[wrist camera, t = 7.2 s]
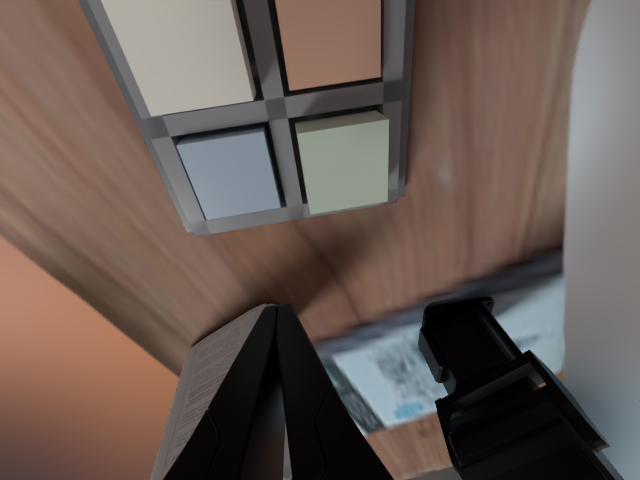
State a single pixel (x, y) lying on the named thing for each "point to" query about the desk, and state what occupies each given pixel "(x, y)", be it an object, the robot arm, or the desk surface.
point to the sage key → (344, 160)
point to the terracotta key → (329, 41)
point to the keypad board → (272, 110)
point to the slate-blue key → (231, 170)
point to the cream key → (184, 52)
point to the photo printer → (205, 388)
